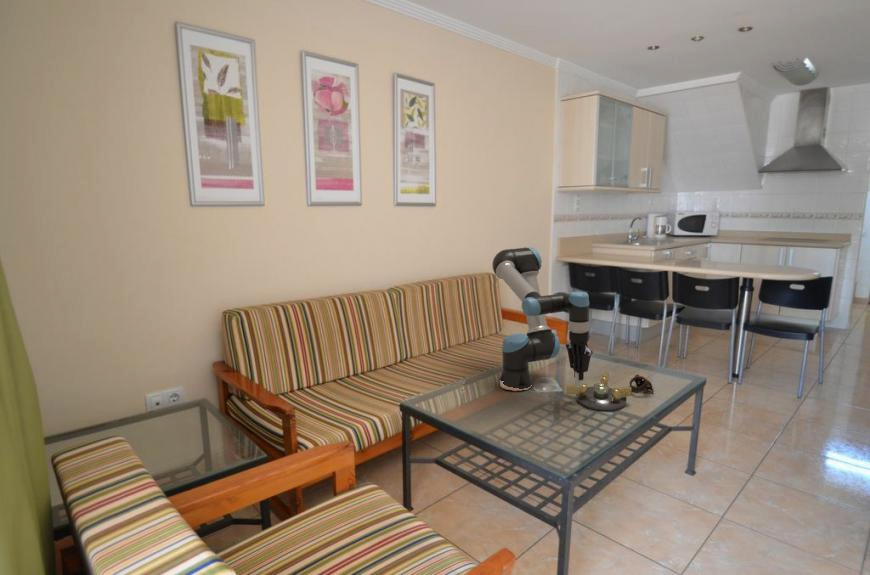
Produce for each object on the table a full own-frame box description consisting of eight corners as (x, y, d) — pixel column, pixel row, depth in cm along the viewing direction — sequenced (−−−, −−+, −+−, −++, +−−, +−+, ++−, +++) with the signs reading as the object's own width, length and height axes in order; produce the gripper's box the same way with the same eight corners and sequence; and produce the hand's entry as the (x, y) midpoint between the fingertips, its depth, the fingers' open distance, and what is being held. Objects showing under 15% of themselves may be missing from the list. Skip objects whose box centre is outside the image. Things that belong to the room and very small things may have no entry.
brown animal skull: (659, 397, 201) (652, 383, 198) (637, 406, 204) (630, 392, 200) (648, 379, 212) (641, 366, 209) (627, 388, 214) (621, 375, 211)
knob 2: (606, 390, 204) (607, 379, 203) (600, 389, 205) (600, 378, 204) (609, 382, 211) (610, 372, 210) (603, 382, 212) (603, 371, 211)
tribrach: (571, 406, 196) (571, 389, 195) (581, 387, 213) (581, 372, 212) (622, 415, 187) (623, 397, 185) (629, 395, 204) (629, 379, 202)
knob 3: (615, 403, 191) (615, 391, 190) (610, 400, 194) (611, 389, 193) (632, 399, 194) (632, 388, 193) (627, 396, 196) (627, 385, 195)
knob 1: (585, 394, 201) (585, 383, 200) (587, 397, 198) (587, 386, 197) (566, 395, 201) (566, 384, 200) (568, 398, 198) (568, 387, 197)
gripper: (598, 332, 185) (597, 389, 189) (574, 325, 196) (574, 379, 201) (583, 336, 182) (583, 394, 186) (560, 328, 193) (560, 383, 198)
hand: (578, 386), depth 193 cm, fingers closed
